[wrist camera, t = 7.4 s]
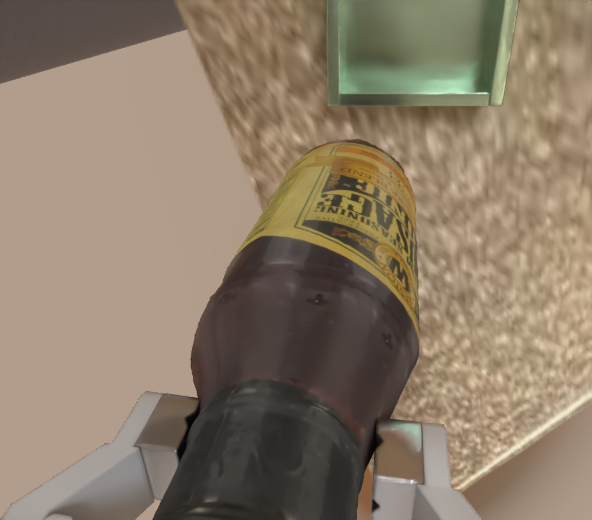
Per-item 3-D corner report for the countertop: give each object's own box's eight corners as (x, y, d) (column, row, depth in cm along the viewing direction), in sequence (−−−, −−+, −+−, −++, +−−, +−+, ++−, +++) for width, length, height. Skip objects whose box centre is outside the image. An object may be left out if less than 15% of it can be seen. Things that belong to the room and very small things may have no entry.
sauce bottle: (438, 209, 24) (548, 791, 7) (334, 269, 27) (231, 796, 10) (360, 96, 22) (249, 529, 5) (255, 174, 25) (-47, 627, 8)
